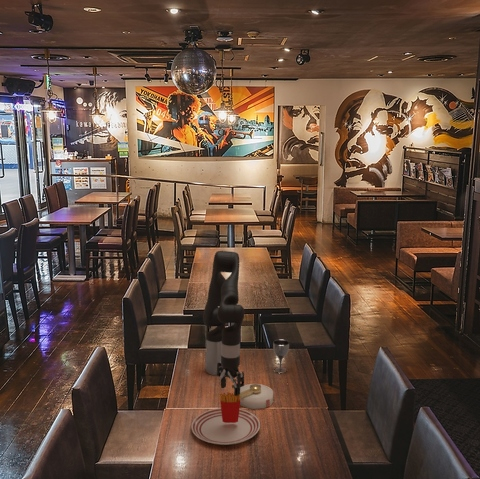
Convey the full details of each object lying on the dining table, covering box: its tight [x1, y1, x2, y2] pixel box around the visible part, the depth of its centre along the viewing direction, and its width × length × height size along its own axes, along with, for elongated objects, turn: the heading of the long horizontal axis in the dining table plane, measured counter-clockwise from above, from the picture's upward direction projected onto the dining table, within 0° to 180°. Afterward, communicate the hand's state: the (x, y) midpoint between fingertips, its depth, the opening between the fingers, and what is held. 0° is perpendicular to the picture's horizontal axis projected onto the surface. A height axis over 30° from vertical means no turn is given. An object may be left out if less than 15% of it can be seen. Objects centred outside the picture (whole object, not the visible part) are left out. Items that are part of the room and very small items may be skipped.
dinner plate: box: [190, 407, 261, 446], centre depth 215 cm, size 28×27×3 cm
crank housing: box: [240, 383, 274, 410], centre depth 239 cm, size 16×16×4 cm
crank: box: [231, 382, 261, 399], centre depth 235 cm, size 16×5×7 cm, turn 131°
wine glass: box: [272, 339, 290, 374], centre depth 270 cm, size 8×8×15 cm
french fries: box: [219, 392, 241, 423], centre depth 216 cm, size 8×4×12 cm, turn 91°
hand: (230, 391), depth 215 cm, fingers open, 8 cm apart
